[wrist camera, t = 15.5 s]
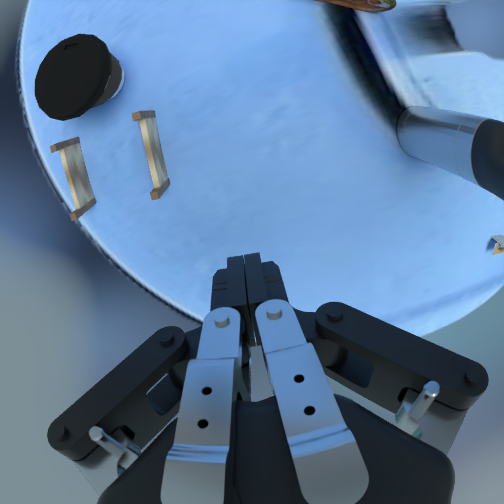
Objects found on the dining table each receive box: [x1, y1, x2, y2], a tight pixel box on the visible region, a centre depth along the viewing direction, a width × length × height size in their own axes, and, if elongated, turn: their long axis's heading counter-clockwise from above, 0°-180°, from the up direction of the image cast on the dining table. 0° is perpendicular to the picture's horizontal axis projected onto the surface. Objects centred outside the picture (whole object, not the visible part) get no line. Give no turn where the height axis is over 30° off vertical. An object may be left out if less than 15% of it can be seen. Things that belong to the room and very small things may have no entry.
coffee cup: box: [35, 34, 125, 121], centre depth 25 cm, size 11×11×12 cm
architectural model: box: [491, 235, 504, 255], centre depth 47 cm, size 3×7×7 cm, turn 95°
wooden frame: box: [50, 111, 170, 221], centre depth 33 cm, size 12×14×7 cm
